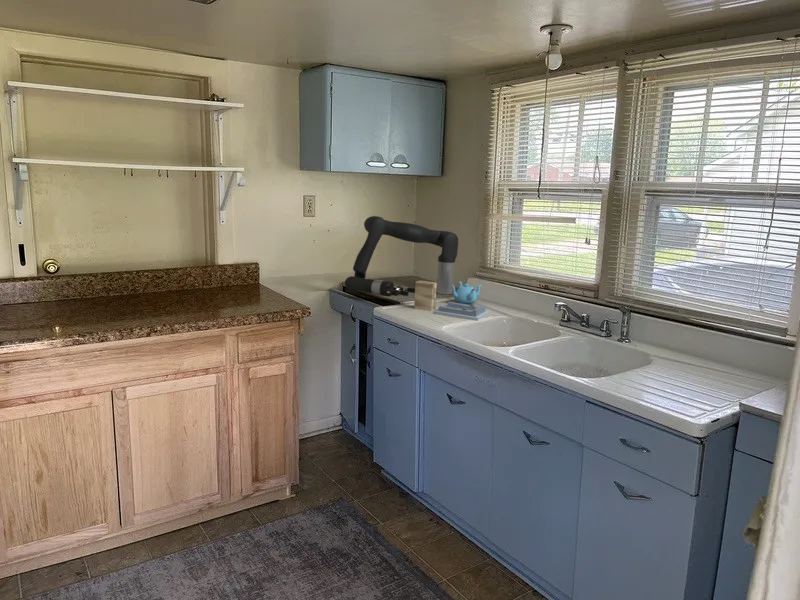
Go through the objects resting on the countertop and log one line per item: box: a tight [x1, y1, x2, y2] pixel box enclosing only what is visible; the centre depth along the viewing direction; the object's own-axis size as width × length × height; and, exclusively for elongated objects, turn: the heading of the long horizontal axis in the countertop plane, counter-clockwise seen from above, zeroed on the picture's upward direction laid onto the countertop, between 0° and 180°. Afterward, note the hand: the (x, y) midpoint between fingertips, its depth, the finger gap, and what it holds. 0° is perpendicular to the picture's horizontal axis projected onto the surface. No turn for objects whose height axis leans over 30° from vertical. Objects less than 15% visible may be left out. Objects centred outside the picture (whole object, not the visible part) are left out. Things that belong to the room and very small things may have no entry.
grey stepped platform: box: [432, 301, 490, 322], centre depth 276 cm, size 16×22×4 cm
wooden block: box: [413, 280, 437, 312], centre depth 281 cm, size 4×9×13 cm, turn 63°
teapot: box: [451, 280, 483, 305], centre depth 296 cm, size 13×13×10 cm
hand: (412, 292), depth 284 cm, fingers open, 8 cm apart
